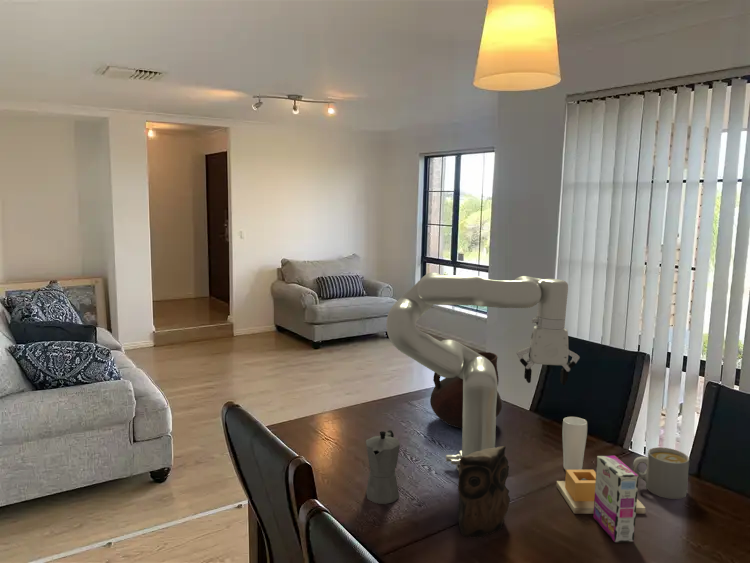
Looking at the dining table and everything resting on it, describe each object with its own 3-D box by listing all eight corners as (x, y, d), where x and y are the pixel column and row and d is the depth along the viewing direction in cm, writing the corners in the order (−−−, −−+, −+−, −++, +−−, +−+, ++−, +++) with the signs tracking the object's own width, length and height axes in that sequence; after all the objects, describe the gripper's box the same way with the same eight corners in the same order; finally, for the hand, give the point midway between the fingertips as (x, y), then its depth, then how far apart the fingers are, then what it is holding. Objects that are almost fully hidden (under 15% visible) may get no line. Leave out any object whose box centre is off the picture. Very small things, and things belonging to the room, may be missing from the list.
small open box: (574, 501, 146) (575, 483, 145) (565, 487, 153) (565, 469, 153) (603, 501, 146) (604, 482, 145) (592, 486, 153) (593, 469, 153)
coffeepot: (392, 511, 144) (393, 444, 142) (358, 505, 147) (357, 439, 145) (407, 482, 159) (408, 421, 156) (375, 478, 162) (375, 417, 159)
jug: (431, 408, 216) (432, 344, 213) (498, 411, 213) (500, 347, 210) (428, 434, 192) (429, 363, 189) (504, 438, 188) (506, 366, 185)
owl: (510, 519, 141) (512, 442, 138) (502, 547, 129) (504, 464, 126) (460, 509, 145) (461, 434, 142) (447, 535, 134) (449, 455, 131)
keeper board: (574, 513, 143) (575, 492, 142) (556, 486, 157) (557, 466, 156) (645, 513, 143) (646, 492, 142) (621, 486, 157) (622, 466, 156)
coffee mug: (687, 486, 156) (690, 452, 155) (684, 502, 148) (687, 466, 147) (635, 474, 164) (637, 441, 162) (629, 489, 155) (632, 454, 154)
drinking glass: (586, 475, 163) (589, 426, 161) (562, 473, 164) (564, 424, 162) (582, 465, 169) (585, 417, 167) (559, 463, 171) (561, 415, 169)
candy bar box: (635, 542, 131) (640, 475, 129) (614, 543, 130) (618, 476, 128) (611, 516, 142) (615, 454, 140) (592, 517, 141) (595, 454, 139)
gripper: (521, 324, 154) (517, 384, 157) (586, 328, 154) (580, 388, 156) (516, 319, 162) (512, 376, 164) (578, 322, 161) (572, 380, 163)
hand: (545, 382), depth 160 cm, fingers open, 9 cm apart
